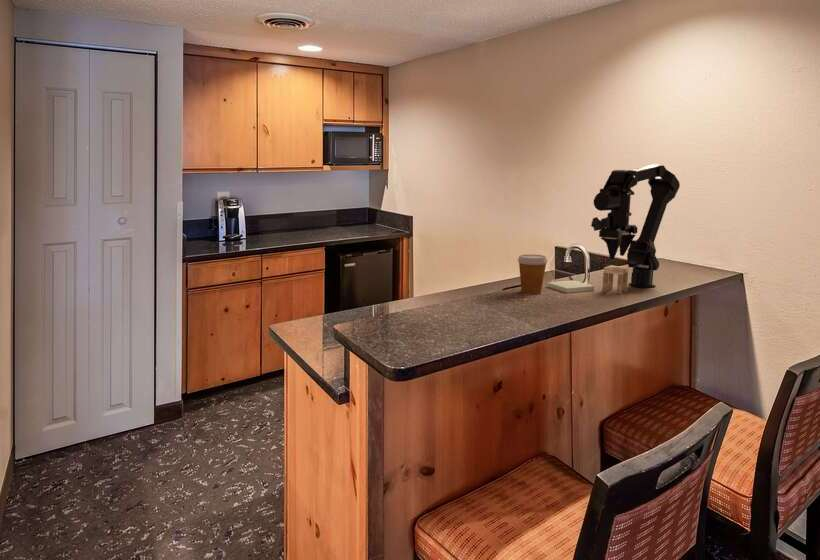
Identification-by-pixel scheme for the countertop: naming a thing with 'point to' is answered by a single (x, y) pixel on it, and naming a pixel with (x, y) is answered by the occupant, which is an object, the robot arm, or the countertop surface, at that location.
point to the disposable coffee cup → (532, 273)
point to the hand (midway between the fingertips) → (617, 257)
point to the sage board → (570, 286)
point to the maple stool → (622, 278)
